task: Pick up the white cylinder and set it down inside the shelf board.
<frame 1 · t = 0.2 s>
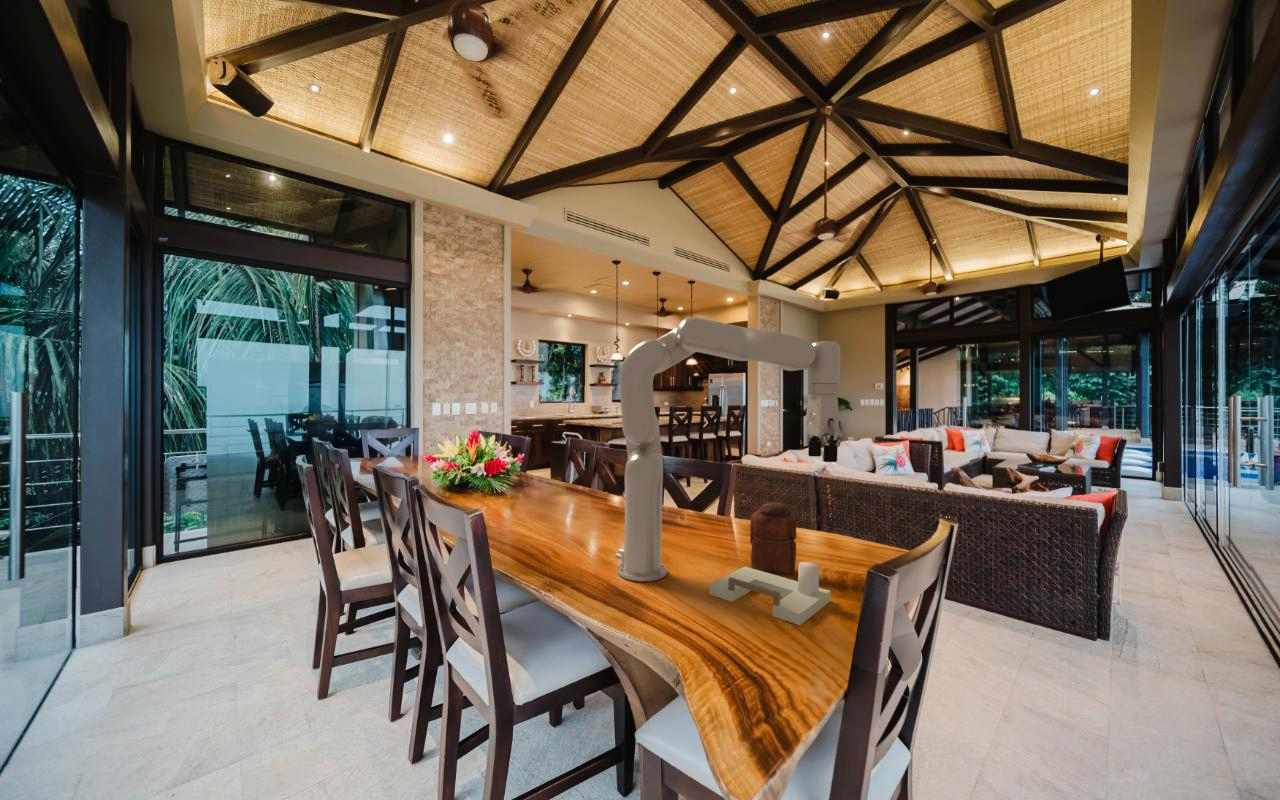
hand: (822, 458, 126), 31 cm above the table, tool pointing down, fingers open, 9 cm apart
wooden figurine: (771, 570, 133), on the table
white cylinder: (808, 591, 112), point 2 cm above the table, touching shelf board
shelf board: (769, 597, 115), on the table
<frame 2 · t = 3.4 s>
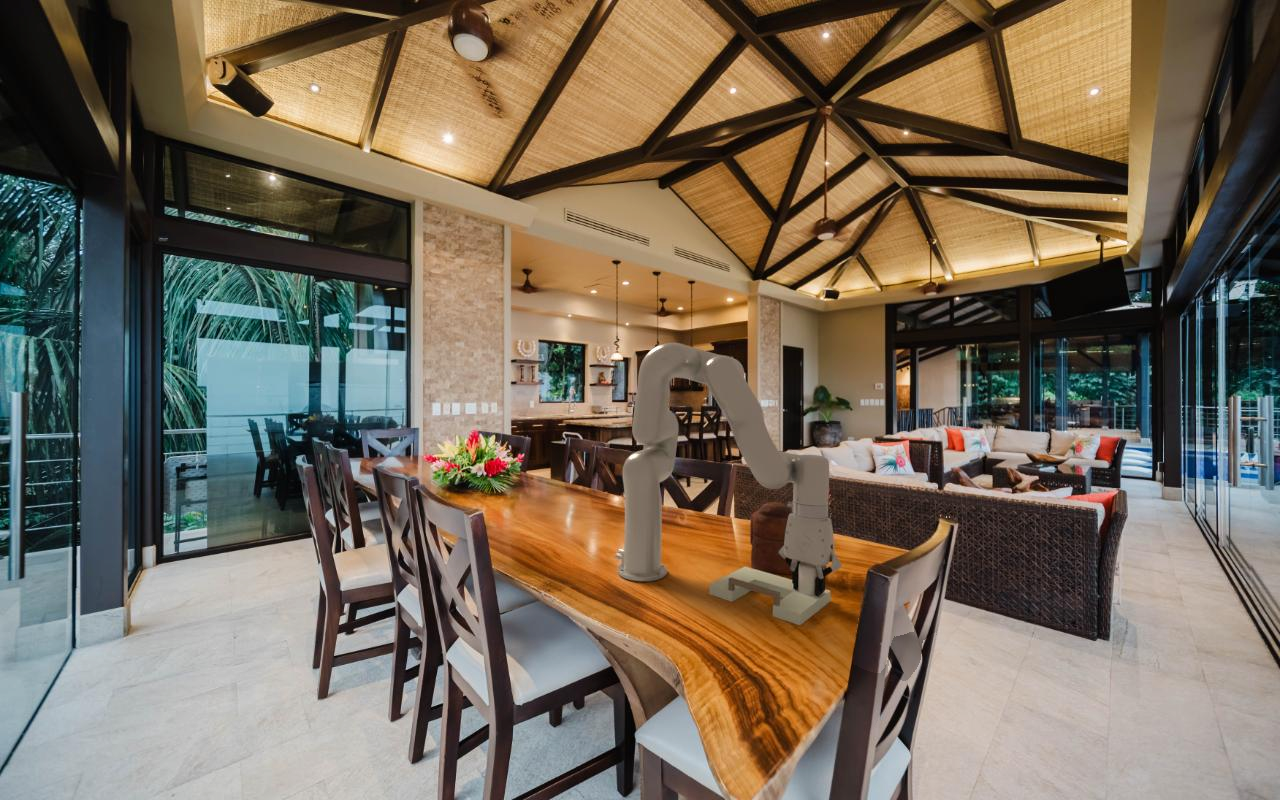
hand: (808, 590, 112), 3 cm above the table, tool pointing down, fingers closed on white cylinder, 4 cm apart
white cylinder: (808, 591, 112), point 2 cm above the table, touching gripper, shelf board
everything else where it was.
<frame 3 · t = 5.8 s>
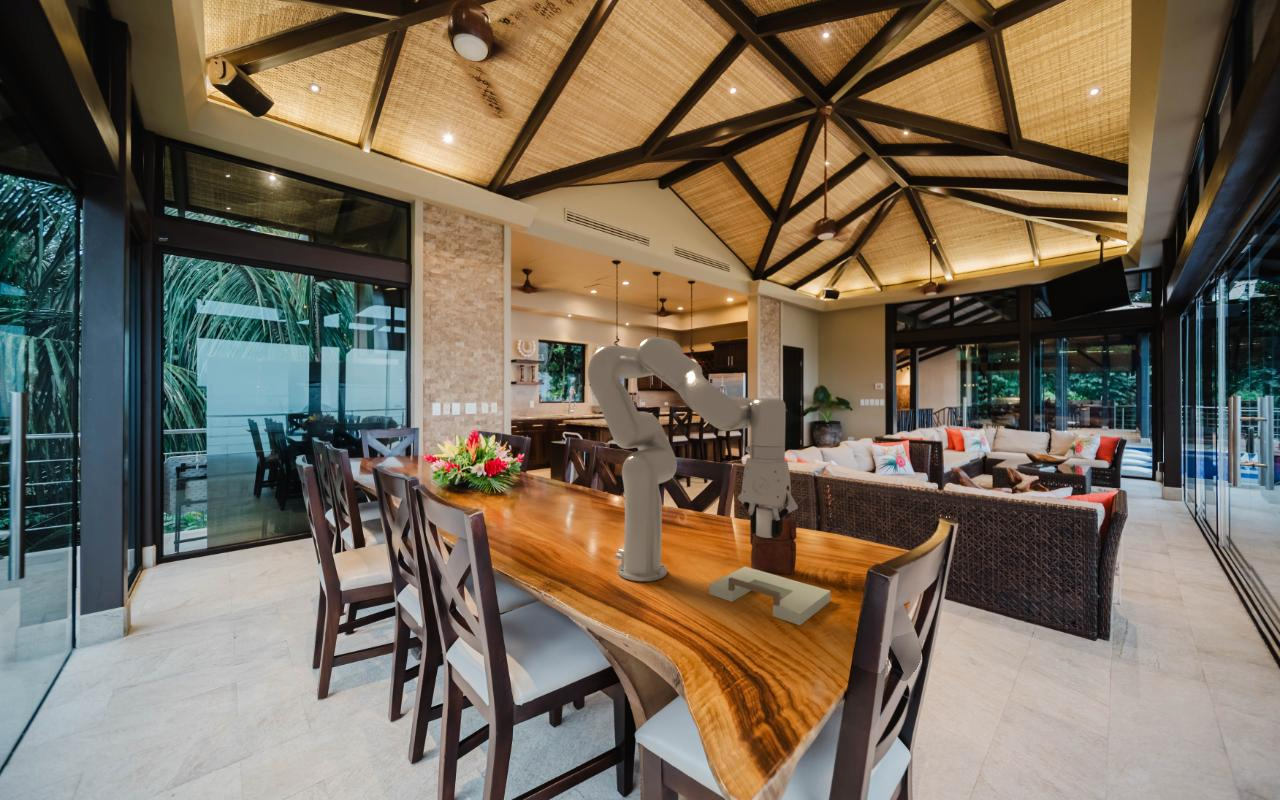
hand: (766, 533, 112), 15 cm above the table, tool pointing down, fingers closed on white cylinder, 4 cm apart
white cylinder: (765, 534, 112), point 15 cm above the table, touching gripper
everything else where it was.
when the fingers open (2 cm above the table, at t = 8.4 s): white cylinder drops 2 cm, on the table.
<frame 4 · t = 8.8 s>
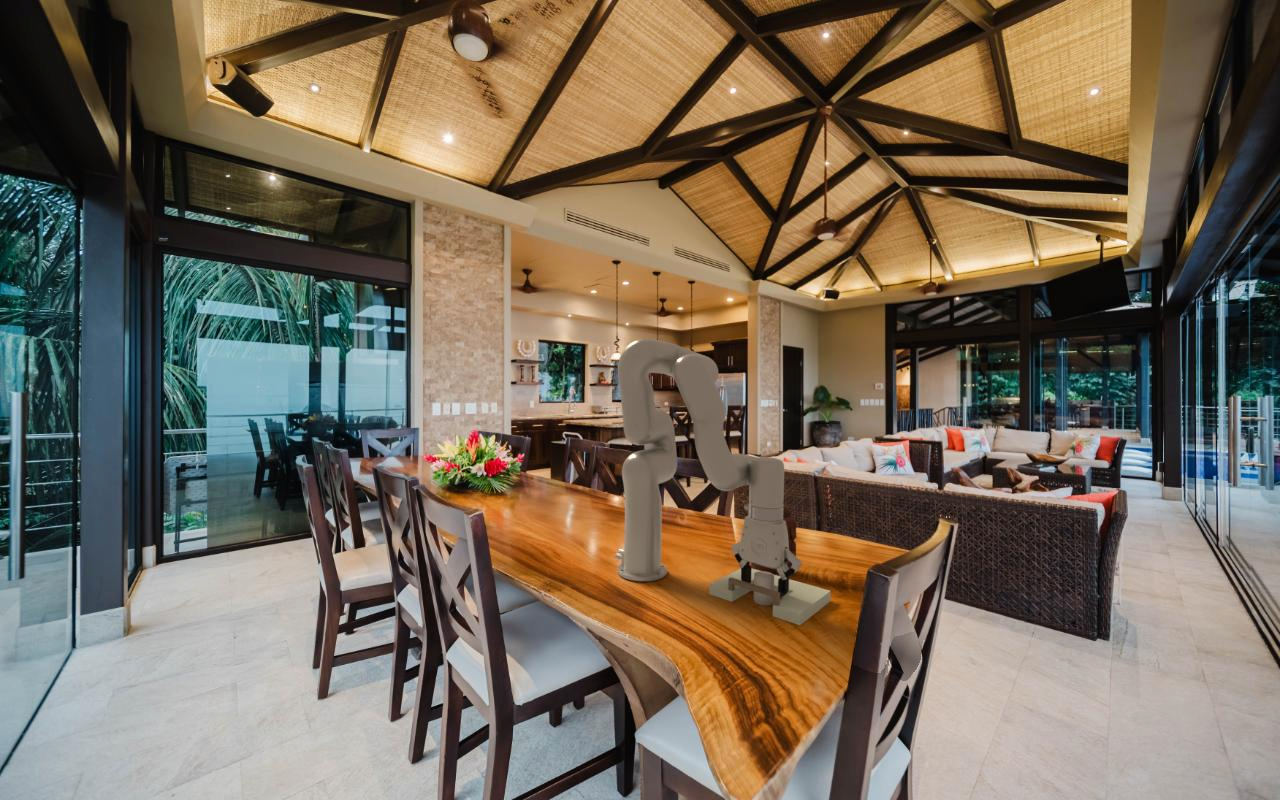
hand: (764, 589, 113), 3 cm above the table, tool pointing down, fingers open, 8 cm apart
white cylinder: (763, 601, 113), on the table
everything else where it was.
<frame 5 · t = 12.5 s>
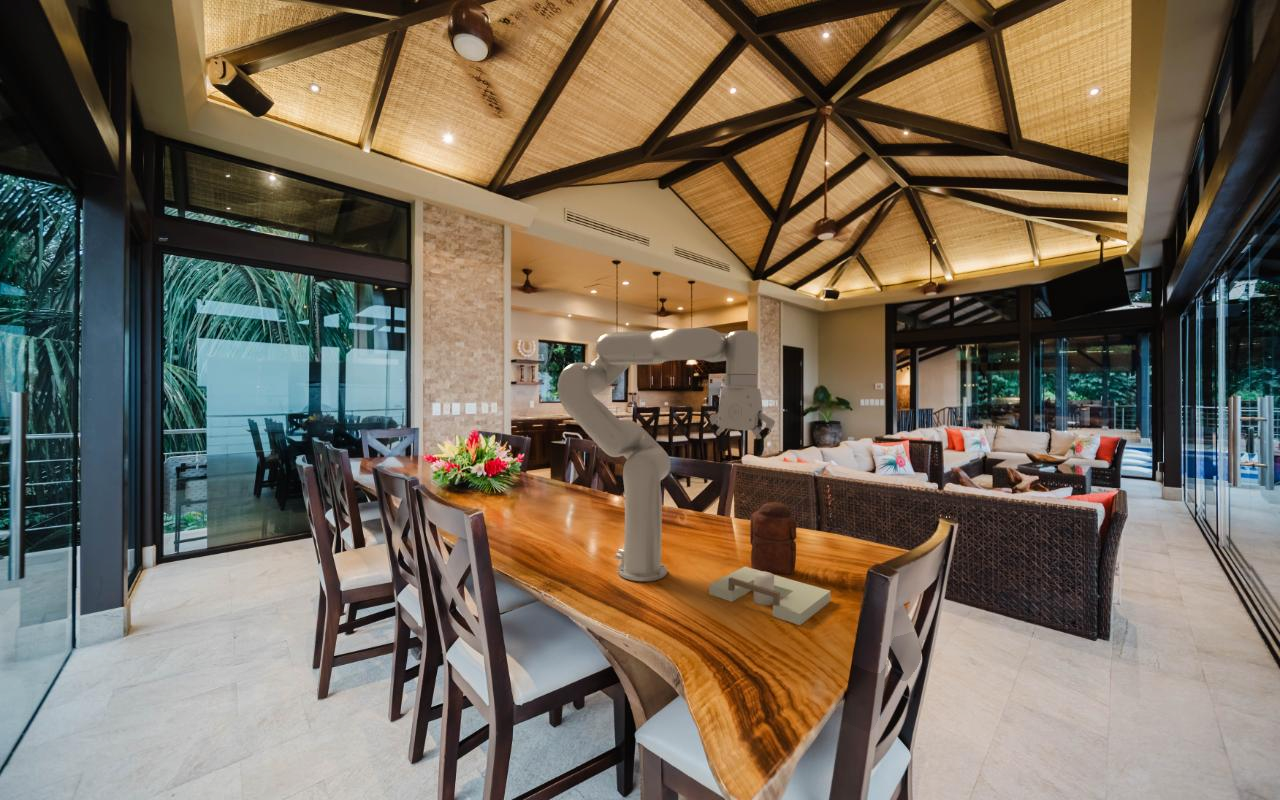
hand: (740, 453, 121), 32 cm above the table, tool pointing down, fingers open, 9 cm apart
nothing on the table moved.
at the end: white cylinder inside the target area (0.3 cm from its centre), on the table; white cylinder tilted 0°; the gripper is holding nothing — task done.
